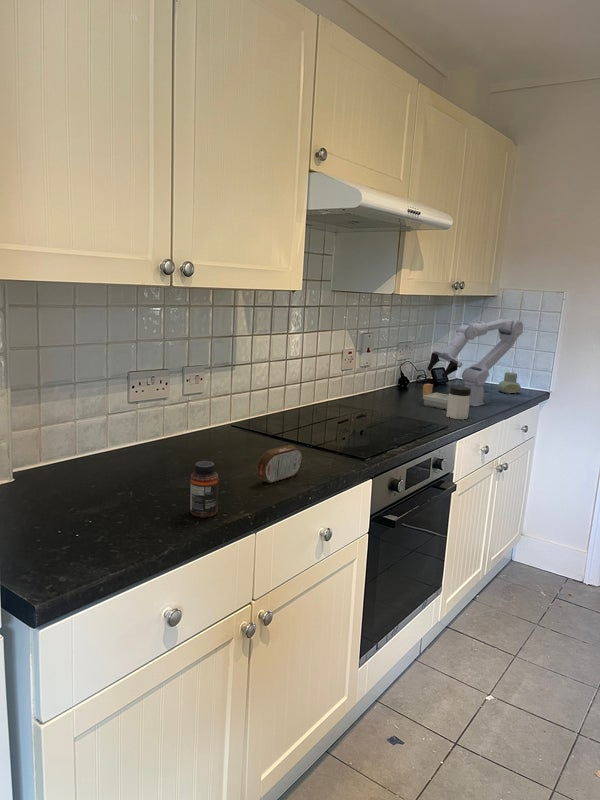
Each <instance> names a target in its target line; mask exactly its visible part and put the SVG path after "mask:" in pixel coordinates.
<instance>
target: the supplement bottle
mask: <svg viewBox="0 0 600 800" xmlns="http://www.w3.org/2000/svg"><path fill="white" fill-rule="evenodd" d="M194 465H195V466H194V471H193V472H192V473H191V475H190V491H189V492H190V494H189V495H190V499H189V500H190V501H189V505H190V507H189V512H190V514H191V515H192V516H194V517H197V518H211V517H213V516H215V515H216V514H217V513H218V510H219V509H218V508H219V507H218V506H219V474H218V473H217V472H216V471H215V463H214V462H212V461H208V460H202V461H200V460H199V461H197V462H195V464H194Z"/></svg>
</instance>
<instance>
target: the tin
mask: <svg viewBox="0 0 600 800" xmlns="http://www.w3.org/2000/svg"><path fill="white" fill-rule="evenodd" d="M303 458H304V455H303V452H302V450H301V449H299V448H298V447H296V446H294V445H291V444H289V445H285V446H280V447H275V448H271V449H269V450H267V451H266V452H264V453H263V454H262V455H261V456H260V458H259V460H258V463H257V468H256V473H257V474H256V475H257V477H258V478H259V480H261V481H262V482H265V483H268V484H274V483H277V482H276V481H278V482H280V481H279V480H281V481H284V480H286V478H288V479H290V478H289V477H291V478H293V477H295V476H296V475H297V474H298V473H299V472H300V470H301V468H302V464H303ZM292 476H293V477H292ZM283 479H284V480H283ZM273 482H274V483H273Z"/></svg>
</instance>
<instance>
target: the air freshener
mask: <svg viewBox="0 0 600 800" xmlns="http://www.w3.org/2000/svg"><path fill="white" fill-rule="evenodd" d="M517 378H518V374H517V373H515V372H509V371H507V372H505V373H504V377H503V380H502V381H500V382H499V383H498V384H497V389H498V390H499V391H500V392H502V393H504V392H505V394H507V393H514V394H517V393H519V392H520V391H521V388H522V386H521V384H520V383H519V382H517V380H518V379H517Z"/></svg>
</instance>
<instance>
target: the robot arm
mask: <svg viewBox="0 0 600 800" xmlns="http://www.w3.org/2000/svg"><path fill="white" fill-rule="evenodd" d="M494 330H498V336H499V340H500V341H499V342H497V344H495V346H494V347H493V348H492V349H491V350H490V351H489V352H488V353H487V354H485V356H484V357H483V358H482V359H481V360H480V361H479V362H477V363H474V364H472V365H470V366H469V367H467V368H465V369H463V371H462V374H461V379H462V381H463V384H464V387H468V388H471V394H470V395H471V396H470V399H471V403H470V405H469V407H475V406H476V407H479V406H483V405H485V403H484V402H483V401H484V400H483V399H484V393H485V389H484V386H483V385H484V384H485V383H486V381H487V379H488V378H489V376H490V373H489V371H490V370H491V369H492V368H493V367H494V366H495V365H496V364H497V363H498V362H499V361H500V360H501V359H502V357H504V355H506V354H507V353H508V351H509V350H510V349H511V348H512V347H513V346H514V345H515V344H516V341H517V339H518V338H519V337H520V336H521V335H522V334H523V330H524V324H523V322H522V320H520V319H516V320H515V319H509V318H499V319H497V320H492V321H490V322H487V323H486V322H484V321H482V320H478V321H477V322H475V323H472V322H469V324H468V325H465V324H463V325H460V326H457V328H456V333H455V334H454V337H453V338H452V339H451V341H450V343H449V344H448V345H447V346H446V348H445V349H444V350H443V351H441V350H439V349H438V350H437V349H433V350H432V351H431V354H430V355H431V356H430V361H429V364H428V366H427V371H428V372H430V371H432V369H433V368H434V367H435V366H436V364H437V363H439V362H440V361H441V360H444V361H446V362H448V365H447V367H446V368H445V370H444V371H443V373H442V374H441V378H442V379H445V378H446V377H447V376H449V375H450V374H452V373H454V372H456V371H458V368H460V369H461V368H462V366H463V363H462V361H461V360H458V359H457V356H459V354H460V353H461V351H462V350H463V349H464V347H465V346H466V345H467V344H468V342H469V340H474V339H475V338H476V337H481V336H484V335H486V334H487V333H488V331H494ZM440 359H441V360H440Z"/></svg>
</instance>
